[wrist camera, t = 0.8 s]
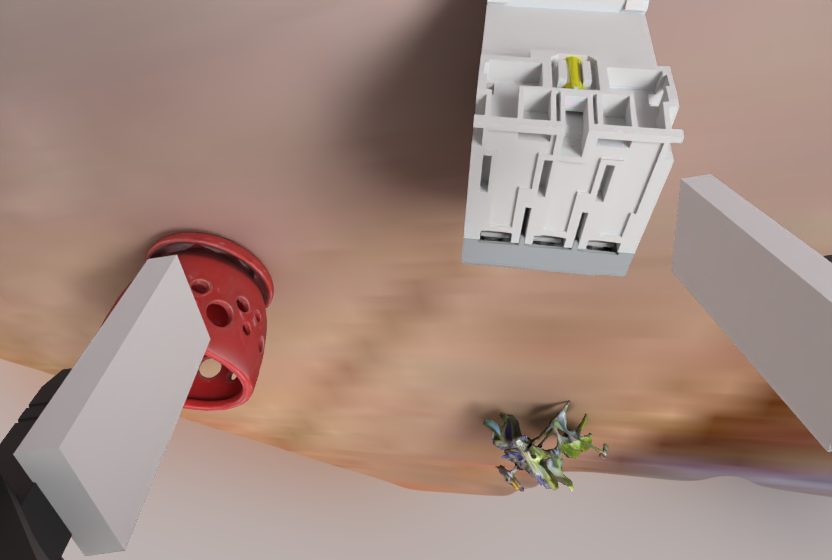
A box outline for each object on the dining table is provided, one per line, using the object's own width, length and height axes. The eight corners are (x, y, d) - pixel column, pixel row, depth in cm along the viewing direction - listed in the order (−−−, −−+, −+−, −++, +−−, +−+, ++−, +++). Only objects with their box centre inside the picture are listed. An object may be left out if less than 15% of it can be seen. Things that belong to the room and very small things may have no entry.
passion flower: (515, 376, 74) (458, 432, 66) (584, 361, 66) (527, 423, 58) (558, 452, 75) (507, 516, 67) (632, 446, 66) (583, 519, 59)
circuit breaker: (473, 160, 42) (455, 335, 32) (493, -55, 31) (474, 115, 21) (580, 169, 41) (593, 349, 32) (639, -47, 30) (686, 131, 21)
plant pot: (150, 285, 59) (93, 390, 52) (150, 198, 49) (80, 313, 42) (276, 324, 62) (240, 430, 54) (301, 249, 52) (261, 366, 44)
